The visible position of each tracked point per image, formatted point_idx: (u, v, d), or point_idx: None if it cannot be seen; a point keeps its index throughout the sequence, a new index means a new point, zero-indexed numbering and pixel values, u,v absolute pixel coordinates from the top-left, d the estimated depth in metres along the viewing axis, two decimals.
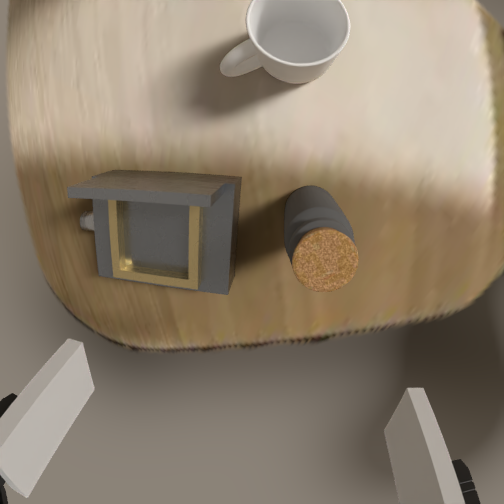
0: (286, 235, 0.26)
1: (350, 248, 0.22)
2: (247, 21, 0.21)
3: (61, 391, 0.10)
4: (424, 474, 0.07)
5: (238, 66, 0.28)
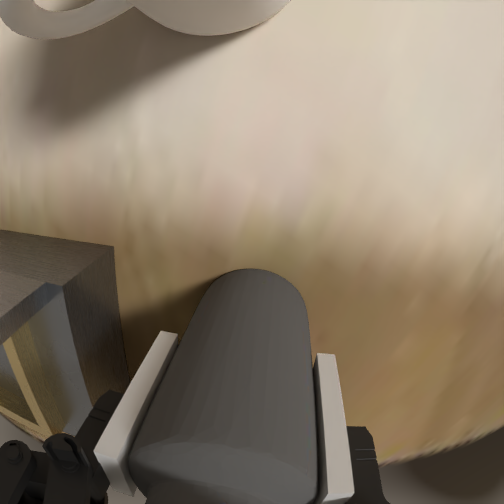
0: (129, 472, 0.08)
1: None
2: None
3: None
4: (319, 433, 0.09)
5: (71, 13, 0.09)
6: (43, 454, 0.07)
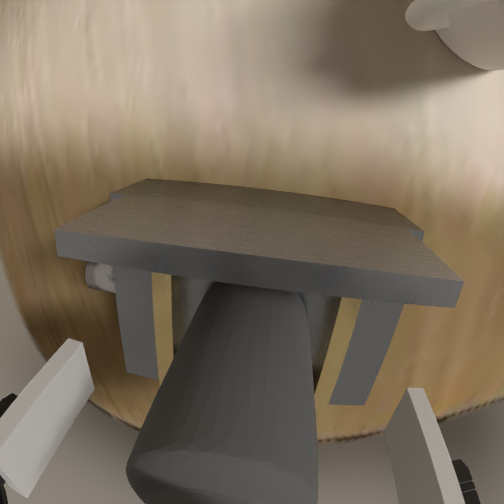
0: (128, 478, 0.07)
1: None
2: None
3: (61, 391, 0.10)
4: (424, 474, 0.07)
5: None
6: None
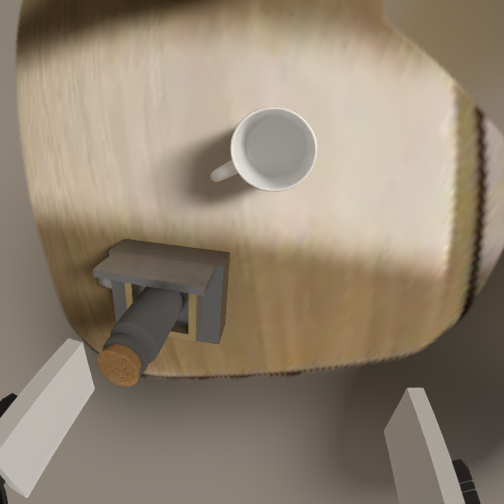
0: None
1: (129, 364, 0.28)
2: (231, 149, 0.30)
3: (61, 391, 0.10)
4: (424, 474, 0.07)
5: None
6: None
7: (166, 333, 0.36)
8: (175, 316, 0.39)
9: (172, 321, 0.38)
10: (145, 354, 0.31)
